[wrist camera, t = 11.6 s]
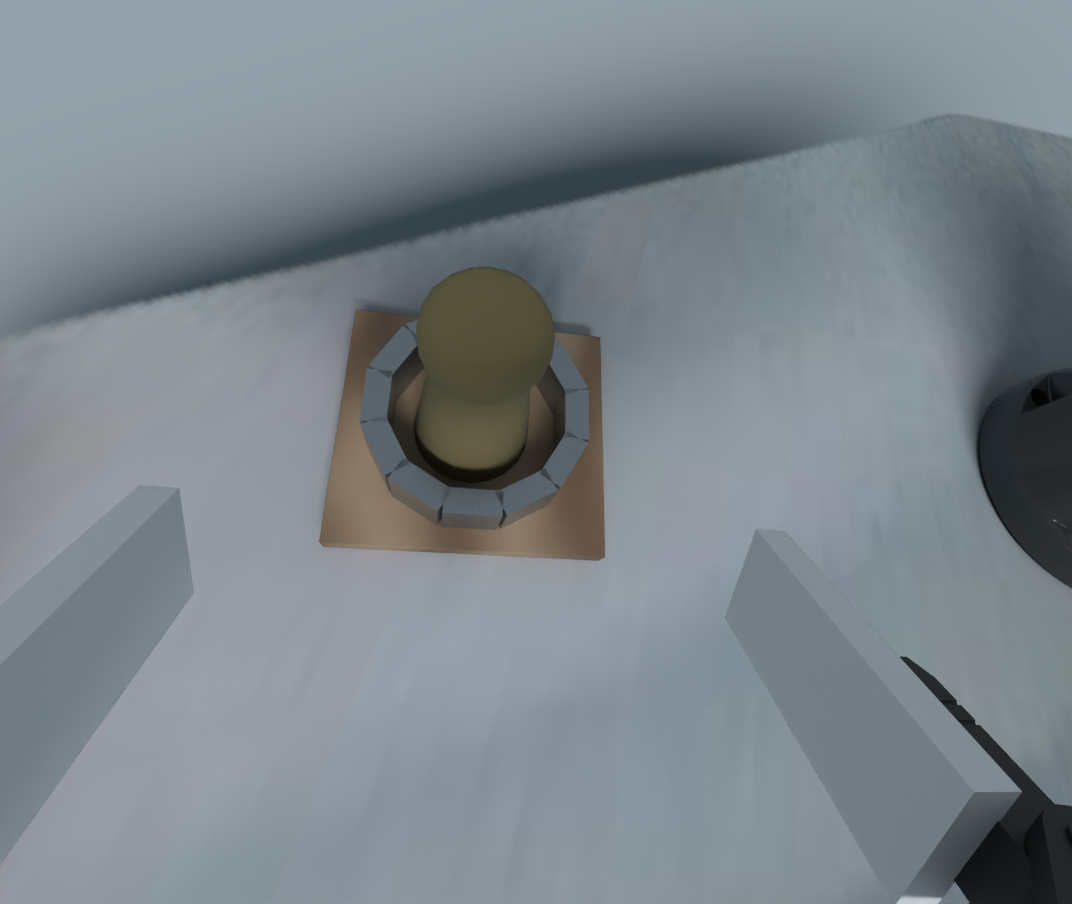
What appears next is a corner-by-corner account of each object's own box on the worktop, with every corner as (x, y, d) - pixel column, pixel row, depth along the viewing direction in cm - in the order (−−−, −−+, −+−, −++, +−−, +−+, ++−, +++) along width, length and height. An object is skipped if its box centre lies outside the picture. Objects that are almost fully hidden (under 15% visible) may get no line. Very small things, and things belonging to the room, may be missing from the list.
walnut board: (594, 347, 34) (600, 337, 33) (598, 560, 30) (604, 556, 28) (358, 321, 32) (356, 309, 31) (323, 546, 27) (319, 541, 26)
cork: (437, 362, 31) (438, 217, 20) (541, 399, 31) (593, 273, 21) (395, 460, 28) (373, 351, 18) (508, 498, 29) (548, 413, 18)
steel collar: (574, 349, 32) (588, 321, 30) (575, 534, 29) (590, 521, 26) (382, 328, 31) (377, 296, 28) (356, 522, 27) (347, 506, 24)
